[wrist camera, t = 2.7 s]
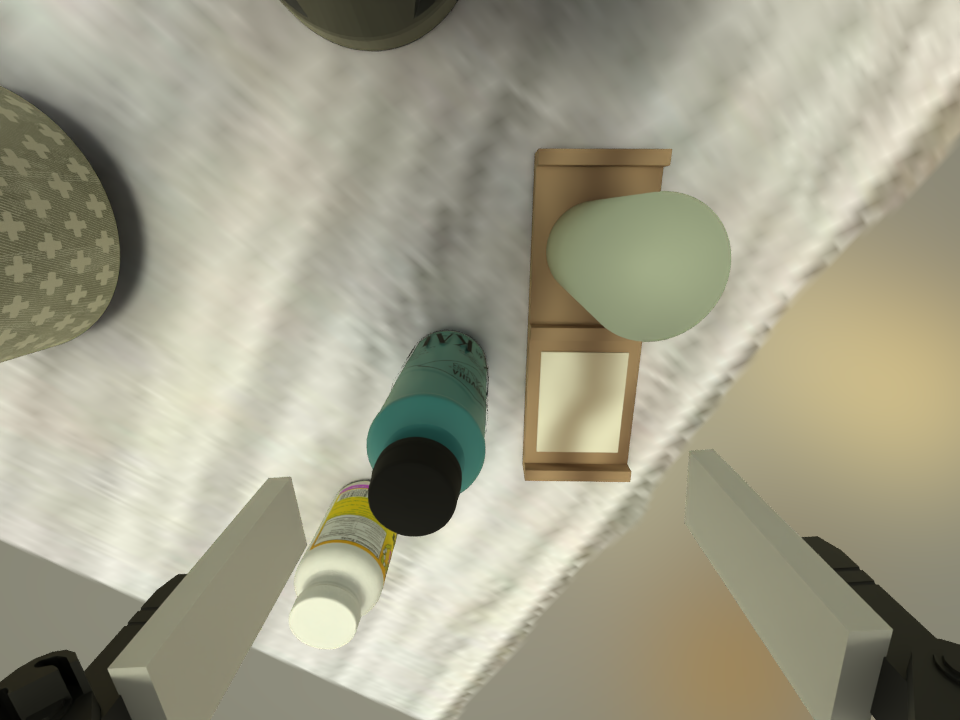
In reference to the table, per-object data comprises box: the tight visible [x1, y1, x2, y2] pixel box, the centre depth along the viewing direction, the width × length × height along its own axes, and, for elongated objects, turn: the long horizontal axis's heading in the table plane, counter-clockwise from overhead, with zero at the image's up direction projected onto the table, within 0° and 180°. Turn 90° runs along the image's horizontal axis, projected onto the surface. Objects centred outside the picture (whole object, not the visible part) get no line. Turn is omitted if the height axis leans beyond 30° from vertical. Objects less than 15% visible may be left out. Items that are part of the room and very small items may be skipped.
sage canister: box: [546, 191, 731, 342], centre depth 27 cm, size 7×7×13 cm
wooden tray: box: [523, 149, 672, 482], centre depth 35 cm, size 9×26×3 cm, turn 0°
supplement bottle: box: [289, 481, 397, 649], centre depth 36 cm, size 7×7×13 cm
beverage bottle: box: [367, 330, 489, 536], centre depth 28 cm, size 6×7×20 cm
